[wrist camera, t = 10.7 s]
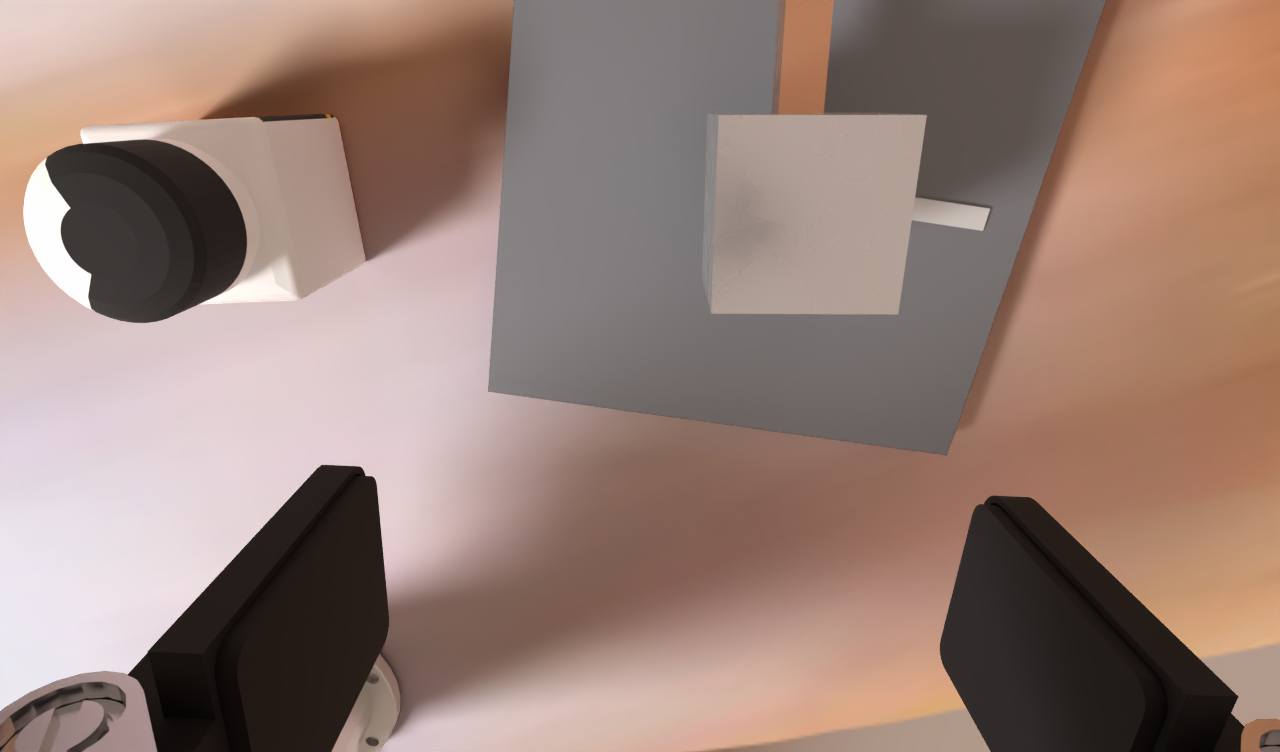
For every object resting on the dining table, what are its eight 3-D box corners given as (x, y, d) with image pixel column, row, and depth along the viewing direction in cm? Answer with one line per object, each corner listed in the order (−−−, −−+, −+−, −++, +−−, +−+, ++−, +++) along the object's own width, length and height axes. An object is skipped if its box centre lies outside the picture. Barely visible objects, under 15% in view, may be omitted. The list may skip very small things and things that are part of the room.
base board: (932, 437, 38) (948, 457, 36) (496, 376, 37) (487, 392, 35) (1103, -68, 29) (1137, -81, 27) (534, -163, 28) (525, -184, 26)
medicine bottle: (339, 113, 32) (173, 120, 21) (369, 264, 35) (235, 340, 24) (191, 121, 33) (-51, 132, 21) (231, 270, 35) (35, 348, 24)
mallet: (896, -42, 24) (953, -76, 19) (858, 279, 28) (898, 314, 24) (712, -41, 24) (726, -74, 20) (702, 278, 28) (711, 313, 24)
